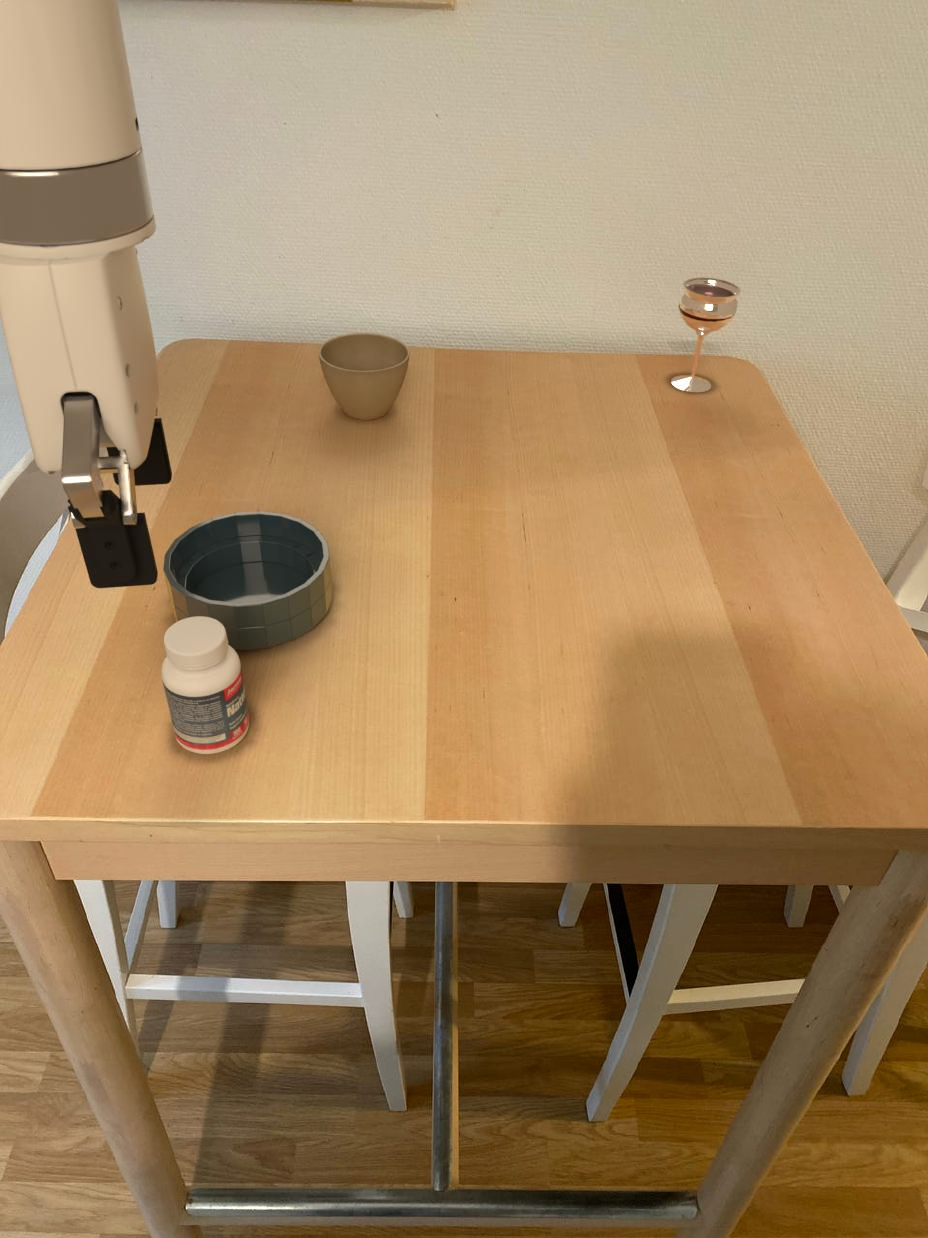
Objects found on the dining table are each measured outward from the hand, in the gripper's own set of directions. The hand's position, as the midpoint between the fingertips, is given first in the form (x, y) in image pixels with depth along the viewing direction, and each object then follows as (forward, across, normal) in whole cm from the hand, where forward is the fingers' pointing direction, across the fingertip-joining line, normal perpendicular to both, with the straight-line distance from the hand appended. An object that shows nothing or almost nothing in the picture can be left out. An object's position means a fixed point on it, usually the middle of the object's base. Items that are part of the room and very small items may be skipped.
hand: (136, 529), depth 50 cm
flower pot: (+20, -52, +16) cm, 58 cm away
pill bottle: (+20, -4, +1) cm, 20 cm away
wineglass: (+20, -56, +58) cm, 82 cm away
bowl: (+20, -18, +4) cm, 27 cm away
